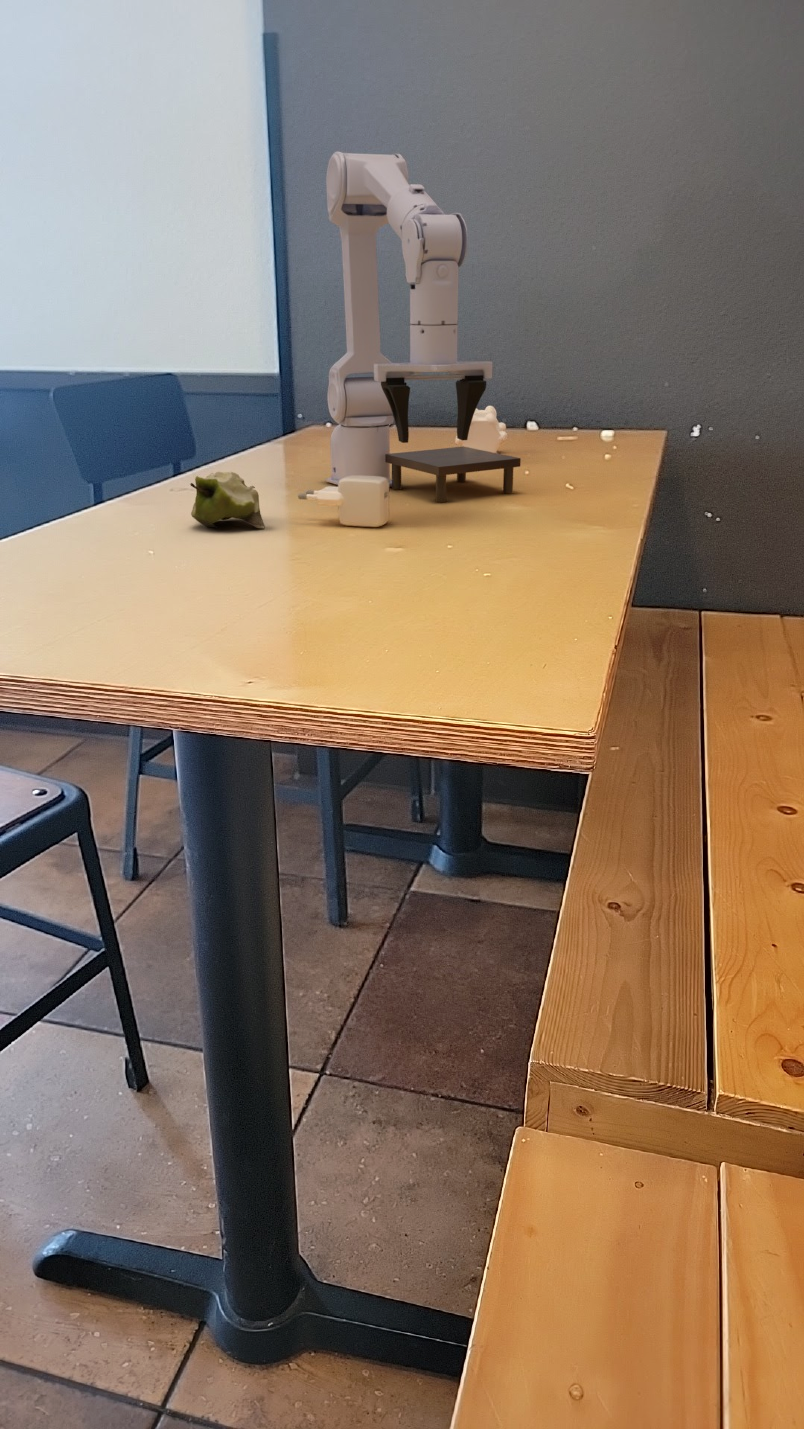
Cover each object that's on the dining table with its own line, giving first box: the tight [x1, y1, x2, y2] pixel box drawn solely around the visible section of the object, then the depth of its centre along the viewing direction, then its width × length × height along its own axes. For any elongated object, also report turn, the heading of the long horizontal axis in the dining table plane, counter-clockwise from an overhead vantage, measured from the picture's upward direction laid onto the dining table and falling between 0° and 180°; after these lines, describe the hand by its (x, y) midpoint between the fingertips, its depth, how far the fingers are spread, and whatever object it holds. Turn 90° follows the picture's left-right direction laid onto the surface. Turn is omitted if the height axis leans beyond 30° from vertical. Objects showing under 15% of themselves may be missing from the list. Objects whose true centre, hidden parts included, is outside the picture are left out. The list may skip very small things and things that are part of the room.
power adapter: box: [297, 475, 390, 528], centre depth 133 cm, size 11×5×6 cm, turn 74°
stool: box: [385, 446, 522, 503], centre depth 154 cm, size 14×14×5 cm
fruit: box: [190, 471, 266, 530], centre depth 132 cm, size 9×9×8 cm
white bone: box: [454, 405, 508, 453], centre depth 182 cm, size 15×9×8 cm, turn 176°
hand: (433, 440), depth 133 cm, fingers open, 7 cm apart
